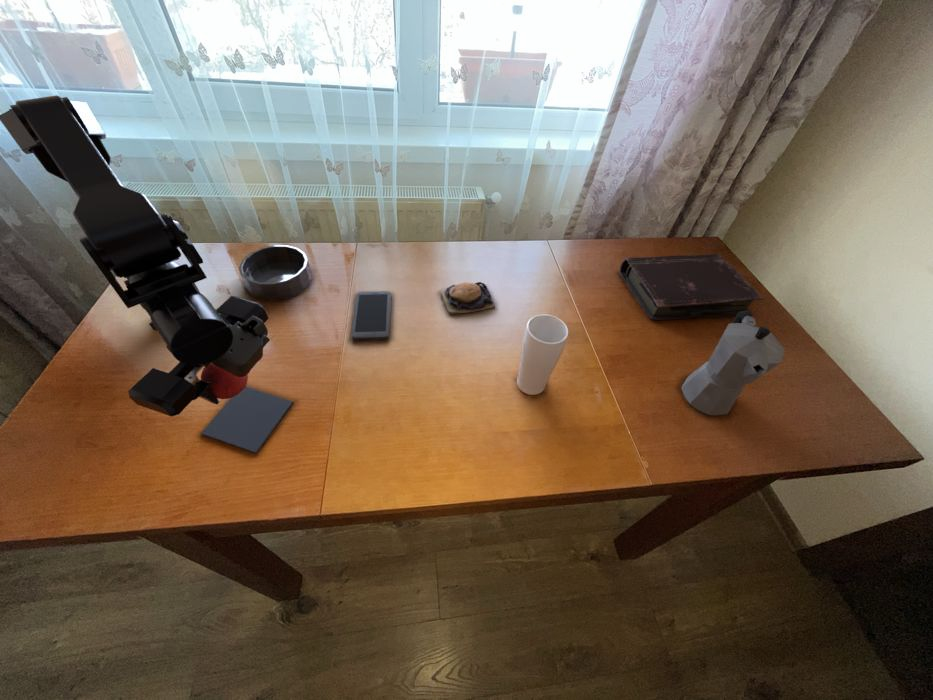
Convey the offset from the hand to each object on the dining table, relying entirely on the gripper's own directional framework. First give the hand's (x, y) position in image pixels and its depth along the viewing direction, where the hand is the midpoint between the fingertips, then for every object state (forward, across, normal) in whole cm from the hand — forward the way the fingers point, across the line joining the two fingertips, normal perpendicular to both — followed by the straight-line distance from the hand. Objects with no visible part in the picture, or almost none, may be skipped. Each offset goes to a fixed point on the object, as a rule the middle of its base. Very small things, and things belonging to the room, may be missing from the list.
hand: (229, 386), depth 60 cm
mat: (+8, 0, 0) cm, 9 cm away
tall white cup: (+9, +23, -43) cm, 50 cm away
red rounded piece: (+2, 0, 0) cm, 2 cm away
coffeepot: (+8, +33, -75) cm, 82 cm away
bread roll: (+9, +41, -25) cm, 49 cm away
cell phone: (+9, +29, -8) cm, 31 cm away
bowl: (+9, +32, +16) cm, 37 cm away
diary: (+9, +62, -72) cm, 95 cm away
